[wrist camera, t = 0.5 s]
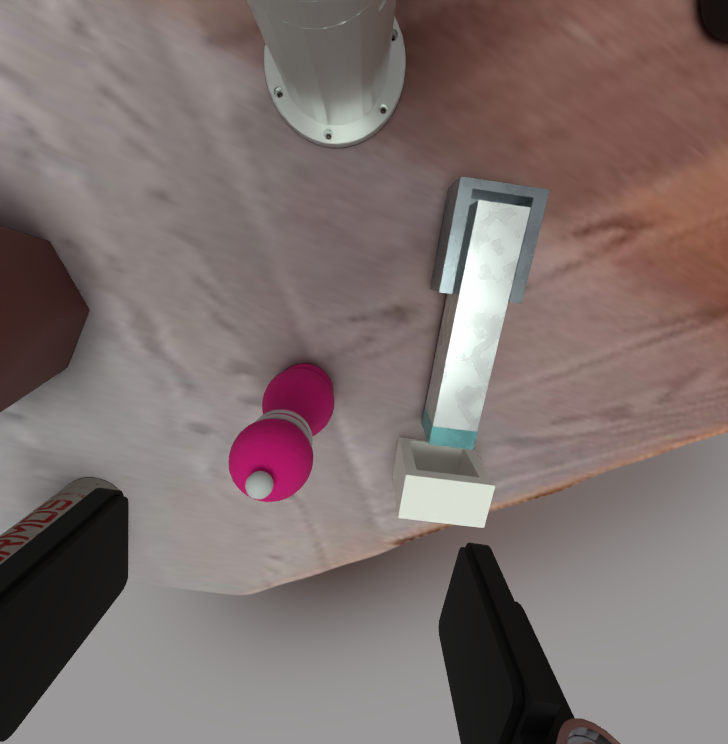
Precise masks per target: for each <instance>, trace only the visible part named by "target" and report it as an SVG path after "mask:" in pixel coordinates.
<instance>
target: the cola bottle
mask: <svg viewBox="0 0 728 744" xmlns="http://www.w3.org/2000/svg"><path fill="white" fill-rule="evenodd" d="M701 13H702V18H703V21H704V23H705V25H706V27H707V29H708V30H709V31H710V33H711V34H712V35H714V36H715V37H716V38H718V39H720V40H722V41H726V42H728V0H701Z"/></svg>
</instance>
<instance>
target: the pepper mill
mask: <svg viewBox="0 0 728 744" xmlns="http://www.w3.org/2000/svg"><path fill="white" fill-rule="evenodd" d="M333 409H334V397H333V387H332V383H331V380H330V378H329V377H328V375H327V374H326V373H325V372H324V371H323V370H322V369H320V368H319V367H317V366H315V365H312V364H306V363H303V364H297V365H294V366H291V367H290V368H288V369H287V370H286V371H284V372H282V373H280V374H278V375H277V376H276V377H274V379H273V380H272V381H271V382H270V383H269V385H268V387H267V389H266V391H265V393H264V397H263V404H262V410H263V415H262V416H261V417H260V418H259V419H258V420H257V421H256V422H254V423H253V424H251V425H249V426H248V427H246V428H245V429H244V430H243V431H242V432H241V433H240V434H239V435H238V436H237V438H236V439H235V441H234V443H233V445H232V447H231V451H230V454H229V471H230V474H231V477H232V479H233V481H234V483H235V484H236V486H237V487H238V488H239V489H240V490H241V491H242V492H243V493H244V494H246V495H247V496H249V497H251V498H253V499H255V500H259V501H264V502H274V501H280V500H283V499H286V498H288V497H290V496H292V495H293V494H294V493H296V492H297V491H298V490H299V489H300V488H301V487H302V486H303V485H304V483H305V482H306V481H307V479H308V477H309V475H310V472H311V470H312V465H313V450H312V447H311V446H312V441H313V436H314V435H315V434H317V433H318V432H320V431H321V430H322V429H323V428H324V427H325V426H326V425H327V423H328V422H329V420H330V418H331V415H332V413H333Z"/></svg>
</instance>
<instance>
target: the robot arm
mask: <svg viewBox="0 0 728 744" xmlns="http://www.w3.org/2000/svg"><path fill="white" fill-rule="evenodd" d="M246 1H247V3H248V5H249V7H250V10H251V12H252V14H253V16H254V18H255V21H256V23H257V25H258V27H259V29H260V32H261V34H262V36H263V38H264V40H265V46H264V72H265V77H266V82H267V86H268V89H269V92H270V95H271V97H272V100H273V102H274V104H275V106H276V108H277V109H278V111H279V113H280V114H281V116H282V117H283V118H284V120H285V121H286V123H287V124H288V125H289V126H290V127H291V128H292V129H293V130H294V131H295V132H296V133H298V134H299V135H301V136H302V137H303V138H305V139H306V140H308V141H311V142H313V143H315V144H317V145H321V146H326V147H331V148H342V147H348V146H352V145H356V144H359V143H361V142H363V141H365V140H367V139H369V138H370V137H371V136H373V135H374V134H375V133H377V132H378V131H379V130H380V129H381V128H382V127H383V126H384V125H385V123H386V122H387V121H388V120H389V118H390V117H391V115H392V113H393V112H394V110H395V108H396V106H397V103H398V101H399V98H400V96H401V92H402V88H403V84H404V78H405V71H406V51H405V46H404V40H403V35H402V32H401V30H400V27H399V24H398V21H397V19H396V17H395V16H394V15H395V7H396V0H246ZM392 38H393V39H394V40H395V41H392ZM279 94H283V96H282V97H280V98H278V95H279ZM382 109H384V110H385V111H386V113H385V114H382V113H381V112H380V111H381V110H382ZM327 135H331V136H332V137H331V139H330V140H328V139H326V137H327ZM127 579H128V499H127V497H124V496H123V493H122V491H120V490H114V489H107V488H96V489H94V490H93V491H92V492H90V493H89V494H88V495H87V496H85V497H84V498H83V499H82V500H80V501H79V502H78V503H77V504H75V505H74V506H73V507H72V508H70V509H69V510H68V511H67V512H65V513H64V514H63V515H62V516H60V517H59V518H58V519H57V520H55V521H54V522H53V523H52V524H50V525H49V526H48V527H47V528H45V529H44V530H43V531H42V532H40V533H39V534H38V535H37V536H35V537H34V538H33V539H32V540H30V541H29V542H28V543H27V544H25V545H24V546H23V547H22V548H20V549H19V550H18V551H17V552H15V553H14V554H13V555H12V556H10V557H9V558H8V559H7V560H5V561H4V562H3V563H2V564H0V741H2V742H3V741H5V740H7V739H8V738H9V737H10V736H11V735H12V734H13V733H14V732H15V730H16V729H17V728H18V727H19V725H20V724H21V723H22V721H23V720H24V719H25V717H26V716H27V715H28V713H29V712H30V711H31V709H32V708H33V707H34V706H35V704H36V703H37V701H38V700H39V699H40V697H41V696H42V695H43V694H44V692H45V691H46V690H47V689H48V687H49V686H50V685H51V683H52V682H53V681H54V679H55V678H56V677H57V675H58V674H59V673H60V671H61V670H62V669H63V668H64V666H65V665H66V664H67V662H68V661H69V660H70V658H71V657H72V656H73V655H74V653H75V652H76V651H77V649H78V648H79V647H80V645H81V644H82V643H83V642H84V640H85V639H86V638H87V636H88V635H89V634H90V632H91V631H92V630H93V628H94V627H95V626H96V625H97V623H98V622H99V621H100V619H101V618H102V617H103V615H104V614H105V613H106V611H107V610H108V609H109V608H110V606H111V605H112V603H113V602H114V601H115V600H116V598H117V597H118V596H119V595H120V593H121V591H122V590H123V589H124V586H125V585H126V582H127ZM439 636H440V642H441V646H442V651H443V656H444V661H445V666H446V671H447V676H448V681H449V686H450V691H451V696H452V701H453V706H454V711H455V716H456V721H457V725H458V731H459V736H460V741H461V744H620V743H619V742H618V741H617V740H616V739H615V738H613V736H611V735H610V734H609V733H608V732H607V731H606V730H604V729H602V728H601V727H599V726H597V725H596V724H595V723H592V722H589V721H587V720H584V719H575V718H574V716H573V714H572V712H571V710H570V707H569V705H568V703H567V701H566V699H565V697H564V695H563V693H562V690H561V688H560V686H559V684H558V682H557V680H556V677H555V675H554V673H553V671H552V669H551V667H550V665H549V663H548V660H547V658H546V656H545V654H544V652H543V650H542V648H541V646H540V643H539V641H538V639H537V637H536V635H535V633H534V630H533V628H532V626H531V624H530V622H529V620H528V618H527V615H526V613H525V611H524V609H523V608H522V606H521V605H520V604H519V603H518V602H515V601H514V599H513V597H512V594H511V592H510V590H509V588H508V586H507V583H506V581H505V579H504V577H503V574H502V572H501V570H500V568H499V566H498V563H497V561H496V559H495V557H494V554H493V552H492V550H491V548H490V547H489V546H488V545H482V544H474V543H468V544H467V545H466V547H461V548H460V550H459V553H458V556H457V560H456V563H455V567H454V570H453V574H452V577H451V581H450V584H449V588H448V591H447V595H446V599H445V602H444V605H443V609H442V613H441V616H440V620H439Z"/></svg>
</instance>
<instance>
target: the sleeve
mask: <svg viewBox="0 0 728 744" xmlns="http://www.w3.org/2000/svg"><path fill="white" fill-rule="evenodd" d="M549 191H550V190H549V189H542V188H536V187H529V186H522V185H515V184H509V183H502V182H495V181H489V180H482V179H475V178H468V177H462V176H461V177H460V178H459V179H458V180H457V181H455V182H454V183H453V184H452V185H451V186H450V187H449V188H448V193H447V199H446V204H445V210H444V215H443V221H442V227H441V232H440V238H439V243H438V249H437V254H436V260H435V265H434V271H433V276H432V282H431V288H430V289H432V290H435V291H437V292H441V293H448V294H452V291H453V286H454V281H455V276H456V271H457V266H458V261H459V256H460V251H461V246H462V241H463V236H464V230H465V225H466V220H467V215H468V210H469V205H471V204H473V203H474V202H476V201H478V200H482V201H489V202H496V203H503V204H510V205H516V206H523V207H530V208H531V209H530V213H529V217H528V221H527V225H526V229H525V234H524V238H523V242H522V246H521V250H520V254H519V259H518V263H517V267H516V271H515V275H514V279H513V283H512V288H511V292H510V296H509V300H508V302H514V303H522V299H523V295H524V291H525V287H526V283H527V279H528V275H529V271H530V267H531V263H532V259H533V255H534V251H535V247H536V243H537V239H538V235H539V231H540V227H541V223H542V219H543V215H544V211H545V207H546V203H547V199H548V195H549Z"/></svg>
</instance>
